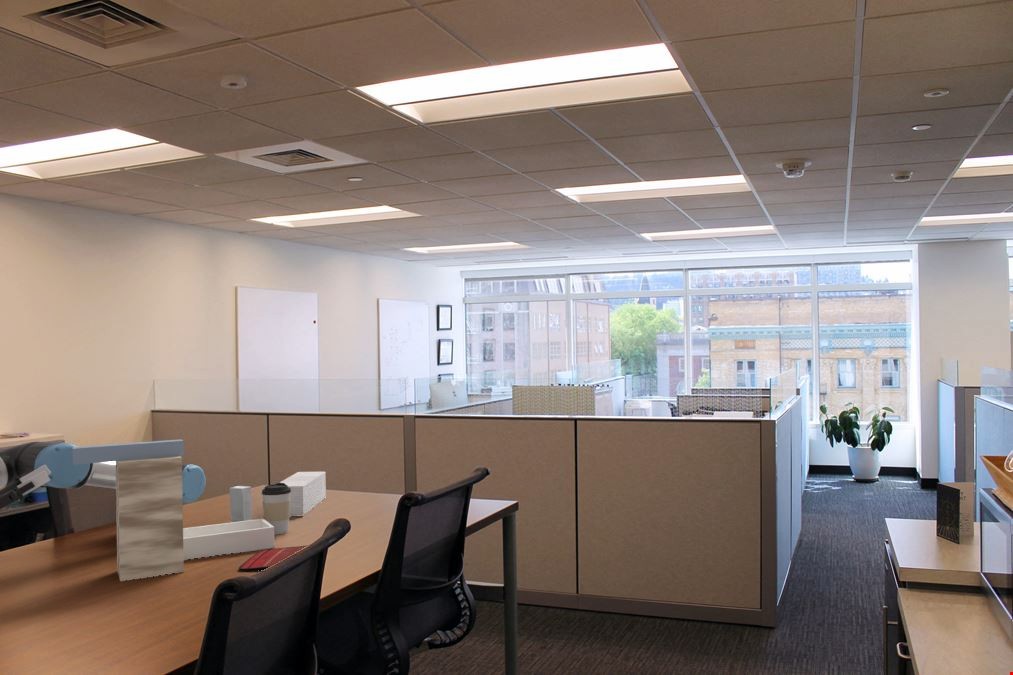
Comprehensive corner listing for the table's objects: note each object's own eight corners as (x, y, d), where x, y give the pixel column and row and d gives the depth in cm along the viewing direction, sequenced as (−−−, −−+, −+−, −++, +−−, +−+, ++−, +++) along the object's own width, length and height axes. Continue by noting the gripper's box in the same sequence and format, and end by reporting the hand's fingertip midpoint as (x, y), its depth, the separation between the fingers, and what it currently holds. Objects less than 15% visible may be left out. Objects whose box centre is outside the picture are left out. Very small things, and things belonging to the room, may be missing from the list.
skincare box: (253, 522, 269) (252, 486, 269) (243, 525, 265) (242, 488, 265) (239, 521, 272) (239, 485, 272) (229, 523, 268) (229, 487, 268)
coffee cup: (283, 535, 249) (282, 487, 249) (256, 534, 251) (255, 486, 251) (296, 529, 258) (296, 482, 258) (270, 528, 259) (270, 481, 260)
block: (72, 462, 205) (72, 447, 205) (181, 454, 217) (181, 439, 217) (73, 464, 201) (72, 448, 201) (184, 455, 214) (183, 440, 214)
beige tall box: (117, 571, 212) (115, 457, 213) (178, 562, 220) (176, 453, 220) (120, 581, 203) (118, 462, 203) (183, 572, 210) (181, 457, 210)
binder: (317, 543, 230) (296, 564, 209) (317, 551, 230) (297, 573, 209) (261, 547, 230) (235, 567, 209) (262, 555, 230) (236, 576, 209)
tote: (146, 553, 230) (146, 532, 230) (263, 538, 246) (263, 518, 246) (151, 565, 218) (151, 542, 218) (274, 547, 234) (274, 527, 234)
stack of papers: (298, 499, 309) (297, 471, 309) (325, 499, 309) (325, 471, 309) (272, 517, 277) (272, 486, 277) (303, 517, 277) (303, 486, 277)
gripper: (-27, 526, 204) (56, 477, 213) (-37, 546, 182) (55, 491, 191) (-44, 502, 202) (40, 454, 211) (-57, 519, 180) (37, 465, 189)
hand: (47, 471), depth 201 cm, fingers open, 13 cm apart
